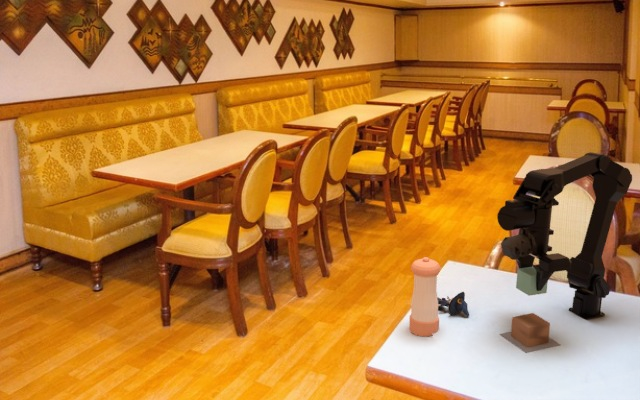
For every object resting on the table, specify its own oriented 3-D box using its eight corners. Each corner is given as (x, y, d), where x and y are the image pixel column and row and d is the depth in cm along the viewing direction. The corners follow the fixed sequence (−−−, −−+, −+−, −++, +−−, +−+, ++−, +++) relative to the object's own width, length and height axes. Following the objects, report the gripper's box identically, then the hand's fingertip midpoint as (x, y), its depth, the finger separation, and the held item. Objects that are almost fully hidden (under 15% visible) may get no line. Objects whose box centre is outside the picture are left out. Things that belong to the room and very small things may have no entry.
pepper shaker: (432, 339, 147) (434, 264, 142) (404, 332, 151) (405, 259, 146) (443, 327, 153) (445, 255, 148) (416, 320, 157) (417, 250, 152)
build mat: (532, 329, 151) (532, 326, 151) (560, 347, 142) (561, 344, 142) (498, 336, 148) (498, 334, 148) (525, 355, 139) (525, 352, 139)
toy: (429, 287, 170) (474, 288, 159) (434, 312, 171) (479, 314, 159) (410, 295, 165) (455, 297, 154) (415, 321, 165) (460, 324, 154)
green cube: (533, 285, 150) (534, 266, 149) (546, 293, 146) (548, 273, 144) (516, 287, 149) (517, 268, 147) (529, 295, 144) (530, 275, 143)
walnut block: (531, 331, 149) (532, 312, 147) (548, 342, 143) (549, 323, 142) (510, 336, 146) (512, 317, 145) (527, 347, 141) (528, 327, 140)
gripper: (485, 217, 149) (481, 277, 153) (534, 239, 132) (528, 306, 136) (523, 213, 153) (518, 272, 156) (576, 234, 135) (568, 299, 139)
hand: (531, 286), depth 147 cm, fingers closed on green cube, 5 cm apart
